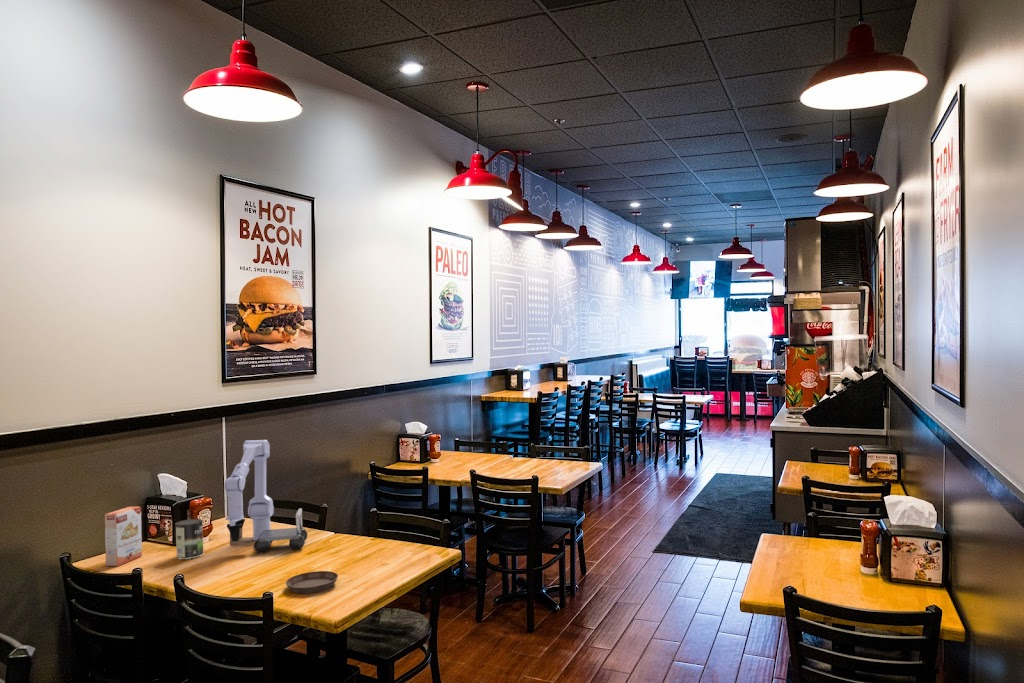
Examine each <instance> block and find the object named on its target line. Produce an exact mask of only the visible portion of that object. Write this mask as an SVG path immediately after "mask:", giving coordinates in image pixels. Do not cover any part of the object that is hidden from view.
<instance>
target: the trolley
mask: <svg viewBox="0 0 1024 683" xmlns="http://www.w3.org/2000/svg"><path fill="white" fill-rule="evenodd" d="M295 525H296V526H295V527H290V528H288V527H287V528H278V529H276V528H275V529H271V530H264V531H263V532H262V533H261V534H260V536H259V538H258V539H257V540H255V542H254V544H253V549H254V550H255V552H256V553H258V554H263V553H266V552H267V551H268V550H269V548H270V546H271V545H272V543H273V542H274V541H285V540H286V541H287V540H289V543H288V544H289V547H290V549H292V550H293V551H299V550H301V549H303V548H304V545H305V542H306V540H307V538H308V531H307V530H306V529H305V528H304V527H303V508H301V507H300V508H298V510H297V511H296V514H295Z"/></svg>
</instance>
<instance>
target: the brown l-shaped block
mask: <svg viewBox="0 0 1024 683" xmlns="http://www.w3.org/2000/svg"><path fill="white" fill-rule="evenodd" d="M252 540H253V537H251V536H249V537H243V527H242V528H240V532H239V539H238V541H232V538H231V534H230V533H229V546H230V547H235V546H236V547H237V546H251V545H252V543H253V541H252Z"/></svg>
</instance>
